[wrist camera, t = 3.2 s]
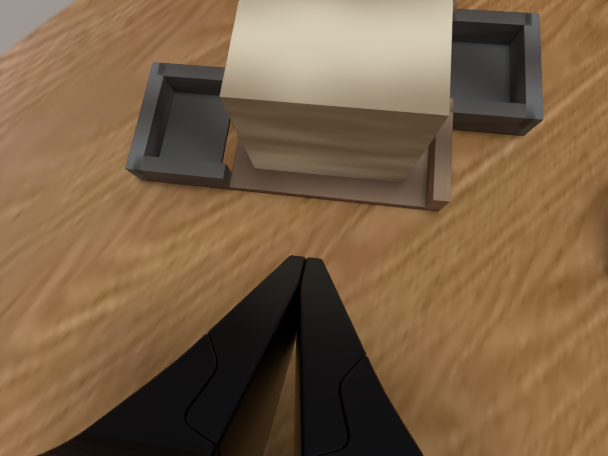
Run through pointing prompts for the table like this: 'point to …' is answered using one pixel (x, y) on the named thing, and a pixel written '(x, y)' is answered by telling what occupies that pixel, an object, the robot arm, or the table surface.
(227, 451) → the robot arm
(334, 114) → the maple block
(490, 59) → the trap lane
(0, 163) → the table surface
